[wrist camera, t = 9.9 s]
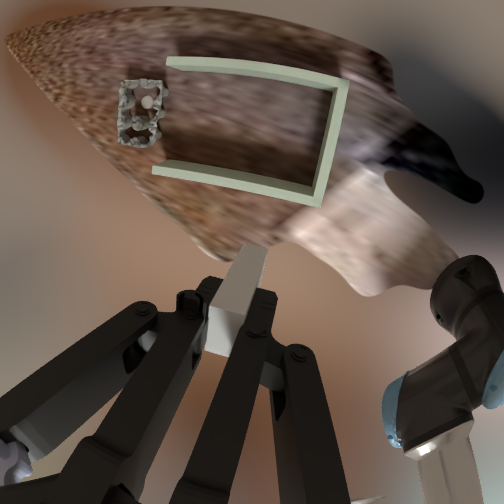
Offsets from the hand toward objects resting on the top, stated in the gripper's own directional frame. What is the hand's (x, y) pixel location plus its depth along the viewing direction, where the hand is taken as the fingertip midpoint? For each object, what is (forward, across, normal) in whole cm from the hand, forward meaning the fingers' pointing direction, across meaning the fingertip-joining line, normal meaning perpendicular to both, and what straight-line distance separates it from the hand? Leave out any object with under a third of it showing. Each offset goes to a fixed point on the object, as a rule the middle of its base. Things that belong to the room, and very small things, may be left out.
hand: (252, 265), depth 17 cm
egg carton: (+24, +23, -8) cm, 34 cm away
